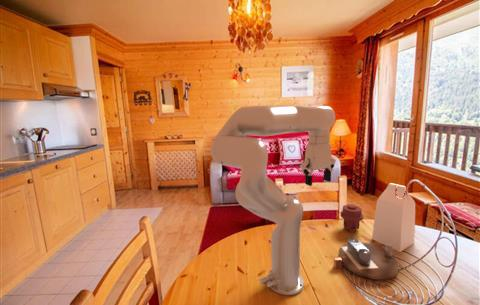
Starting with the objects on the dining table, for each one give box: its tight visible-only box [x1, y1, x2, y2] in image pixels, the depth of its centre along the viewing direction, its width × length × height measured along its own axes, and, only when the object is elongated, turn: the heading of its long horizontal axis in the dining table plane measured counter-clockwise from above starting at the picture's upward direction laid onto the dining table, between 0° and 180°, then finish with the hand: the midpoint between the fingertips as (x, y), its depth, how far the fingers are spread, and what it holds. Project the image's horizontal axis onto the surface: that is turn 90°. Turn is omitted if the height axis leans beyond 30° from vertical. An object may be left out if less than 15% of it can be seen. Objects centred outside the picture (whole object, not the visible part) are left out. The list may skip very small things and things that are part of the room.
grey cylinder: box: [346, 237, 371, 267], centre depth 92 cm, size 4×12×4 cm, turn 3°
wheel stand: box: [333, 256, 343, 270], centre depth 92 cm, size 15×8×4 cm, turn 116°
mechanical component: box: [340, 203, 364, 234], centre depth 118 cm, size 12×10×10 cm
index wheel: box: [338, 241, 399, 280], centre depth 92 cm, size 20×20×6 cm
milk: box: [371, 182, 416, 253], centre depth 106 cm, size 12×12×26 cm
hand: (318, 182), depth 96 cm, fingers open, 9 cm apart
